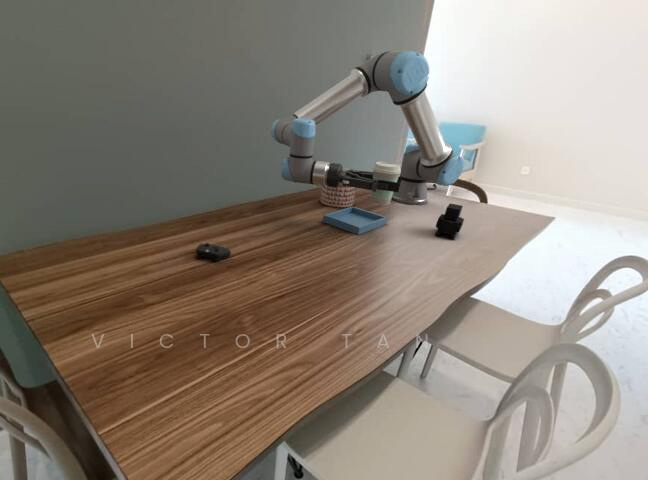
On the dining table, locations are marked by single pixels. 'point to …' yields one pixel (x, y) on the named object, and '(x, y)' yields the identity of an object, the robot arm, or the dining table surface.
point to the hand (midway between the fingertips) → (400, 184)
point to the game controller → (212, 251)
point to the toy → (450, 221)
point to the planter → (338, 195)
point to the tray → (355, 220)
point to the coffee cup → (385, 173)
